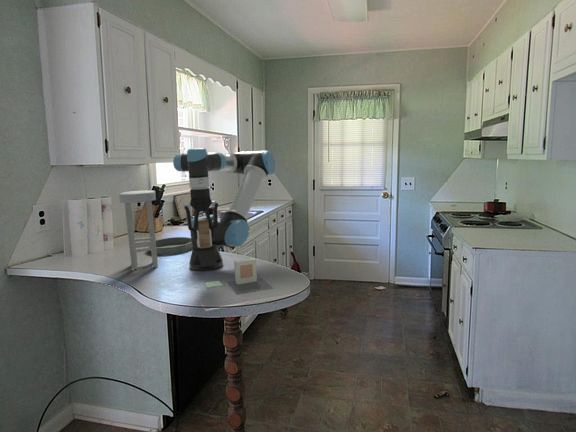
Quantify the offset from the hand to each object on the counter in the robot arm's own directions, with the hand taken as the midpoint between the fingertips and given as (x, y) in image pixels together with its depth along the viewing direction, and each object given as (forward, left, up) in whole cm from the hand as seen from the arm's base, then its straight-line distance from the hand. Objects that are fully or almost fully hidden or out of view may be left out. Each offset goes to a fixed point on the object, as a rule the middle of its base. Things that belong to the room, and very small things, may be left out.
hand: (204, 245), depth 167 cm
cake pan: (-65, -7, -15) cm, 67 cm away
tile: (+11, +13, -14) cm, 22 cm away
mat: (+16, +13, -15) cm, 25 cm away
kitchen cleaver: (-62, +22, -15) cm, 67 cm away
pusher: (0, 0, 0) cm, 0 cm away
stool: (-38, -22, -15) cm, 46 cm away
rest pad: (+8, +1, -15) cm, 17 cm away
